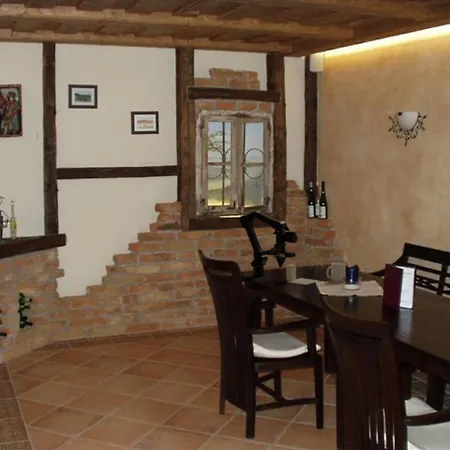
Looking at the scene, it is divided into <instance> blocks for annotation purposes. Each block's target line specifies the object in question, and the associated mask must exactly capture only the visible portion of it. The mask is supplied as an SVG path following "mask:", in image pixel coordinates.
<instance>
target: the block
mask: <svg viewBox="0 0 450 450" xmlns="http://www.w3.org/2000/svg"><path fill="white" fill-rule="evenodd" d="M295 279H297V265H296V264H286V281H291V280H295Z"/></svg>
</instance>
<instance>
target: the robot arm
mask: <svg viewBox="0 0 450 450" xmlns="http://www.w3.org/2000/svg"><path fill="white" fill-rule="evenodd" d="M256 219H257V220H258V221H260V222H263V223H265V224H267V225H269V226H270V227H271V228H272V229H273V230H274V231H273V232H272V235H275V243H274V244H273V247H271V248H269V249H265V250H264V249H262V247H261V244H260V242H259V239H258V237H257V234H256V232H255V229H254V221H255V220H256ZM238 221H239V223H240V225H241V227H242V228H243V229H244V230H245V232H246V234H247V237H248V239H249V242H250V243H249V244H250V245H251V247H252V249H253V260H252V261H251V262H250V266H251V267H252V274H251V275H252V277H256V278H257V277H258V278H260V277H265V276H266V274H265V266H266V264H267V262H268V257H269V256H272V257H273V258H274V259H276V261H277V264H278V267H279V268H280V269H281V268H282V267H283V266H284V263H285V261H286V260H287V258H289V259H291V258H296V257H297V255H296V251H287V249H286V246H287V243H288V244H289V243H290V244H296V243H297V242H298V238H299V237H298V235H297V233H296V231H291V230H290V229H289V227H288V225H287V222H286V221H285V220H282V219H276V218H273V217H271V216H269V215H267V214H265V213H263V212H261V211H259V210H254V211H251V212H250V213H248V214H242V215H241V216H239V219H238Z"/></svg>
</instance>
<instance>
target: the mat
mask: <svg viewBox="0 0 450 450" xmlns="http://www.w3.org/2000/svg"><path fill="white" fill-rule="evenodd" d="M316 281H319V280H316V279H310V278H303V277H301V278H296V279H295V280H291V281H289V280H286V283H291V284H298V285H304V286H307V285H311V284H315V282H316ZM316 283H317V282H316Z"/></svg>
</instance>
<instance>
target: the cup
mask: <svg viewBox="0 0 450 450" xmlns="http://www.w3.org/2000/svg"><path fill="white" fill-rule="evenodd" d="M330 265H331V266H330ZM330 265H329V266H328V267H327V268H326V276H327V278H328V279H330V280H331V281H332V282H334V281H336V282H335V283H342V282H341V281H342V278H343V277H345V278H346V263H345V262H331V264H330ZM329 270H330V271H331V272H330V271H329ZM329 272H330V273H331V274H329ZM330 275H331V276H330Z"/></svg>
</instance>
